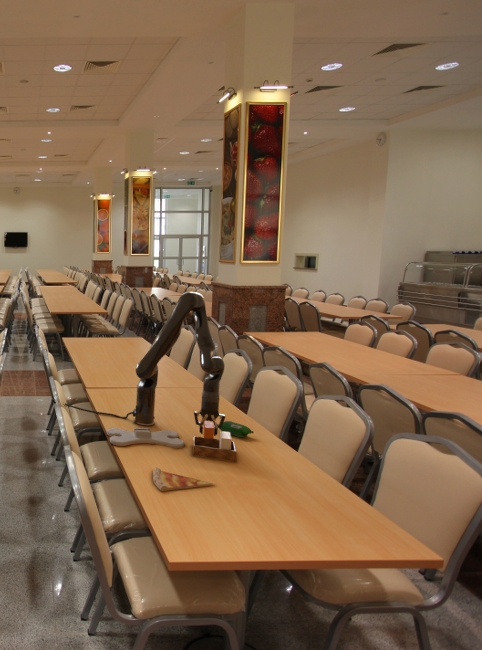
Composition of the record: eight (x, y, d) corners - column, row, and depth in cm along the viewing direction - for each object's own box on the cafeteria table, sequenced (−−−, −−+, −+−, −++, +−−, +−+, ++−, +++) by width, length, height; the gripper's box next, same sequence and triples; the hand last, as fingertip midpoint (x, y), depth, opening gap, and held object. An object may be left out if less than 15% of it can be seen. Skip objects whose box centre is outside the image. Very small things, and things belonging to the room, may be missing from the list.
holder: (105, 431, 251) (106, 421, 250) (175, 433, 248) (176, 423, 248) (111, 446, 232) (111, 435, 231) (186, 449, 230) (187, 438, 229)
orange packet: (203, 445, 234) (204, 427, 233) (203, 438, 242) (204, 420, 241) (212, 447, 232) (214, 428, 231) (212, 440, 241) (213, 422, 240)
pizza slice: (204, 502, 182) (205, 497, 181) (143, 486, 193) (143, 481, 193) (212, 485, 195) (212, 480, 195) (154, 471, 206) (154, 466, 206)
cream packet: (219, 457, 219) (221, 438, 218) (218, 450, 228) (220, 430, 227) (230, 459, 218) (231, 439, 217) (228, 451, 226) (229, 432, 225)
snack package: (246, 441, 240) (247, 430, 240) (215, 430, 253) (216, 420, 252) (254, 438, 244) (255, 427, 244) (223, 428, 257) (224, 418, 256)
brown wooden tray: (192, 456, 222) (193, 445, 221) (192, 446, 233) (193, 435, 232) (235, 462, 216) (236, 451, 215) (233, 451, 227) (233, 441, 227)
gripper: (226, 399, 236) (224, 433, 238) (193, 395, 241) (191, 429, 243) (227, 403, 229) (225, 439, 231) (193, 400, 234) (191, 435, 236)
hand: (208, 434), depth 237 cm, fingers open, 5 cm apart
